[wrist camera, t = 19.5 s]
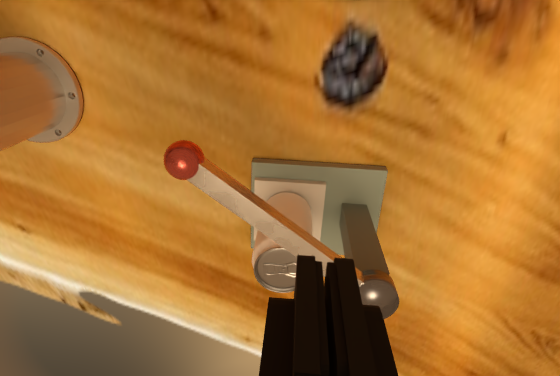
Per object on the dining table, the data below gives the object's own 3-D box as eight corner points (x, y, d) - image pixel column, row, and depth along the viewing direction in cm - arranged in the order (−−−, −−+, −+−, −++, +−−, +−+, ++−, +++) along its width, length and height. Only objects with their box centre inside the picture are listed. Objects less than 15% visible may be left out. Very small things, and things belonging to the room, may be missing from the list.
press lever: (402, 282, 35) (411, 306, 32) (370, 308, 37) (375, 332, 34) (188, 122, 29) (175, 133, 27) (161, 160, 31) (146, 175, 28)
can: (312, 233, 48) (314, 296, 37) (264, 234, 49) (252, 296, 38) (311, 190, 45) (313, 243, 35) (260, 191, 46) (246, 244, 35)
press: (252, 242, 52) (233, 323, 38) (253, 158, 47) (231, 217, 33) (370, 250, 52) (394, 336, 38) (385, 166, 46) (420, 230, 32)
